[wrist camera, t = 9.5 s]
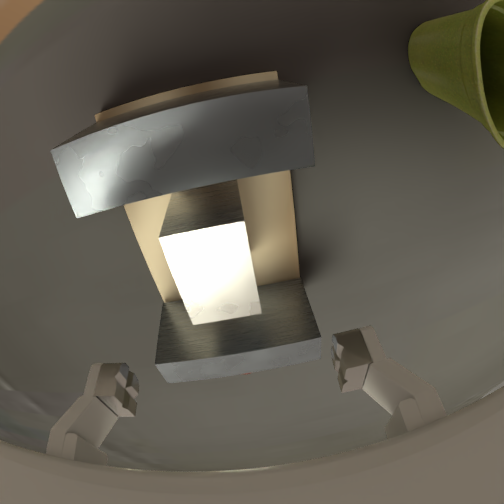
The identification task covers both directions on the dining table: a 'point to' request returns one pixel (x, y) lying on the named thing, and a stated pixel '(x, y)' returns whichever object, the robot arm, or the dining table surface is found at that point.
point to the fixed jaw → (187, 145)
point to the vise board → (252, 198)
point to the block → (210, 253)
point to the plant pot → (465, 62)
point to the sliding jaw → (239, 337)
